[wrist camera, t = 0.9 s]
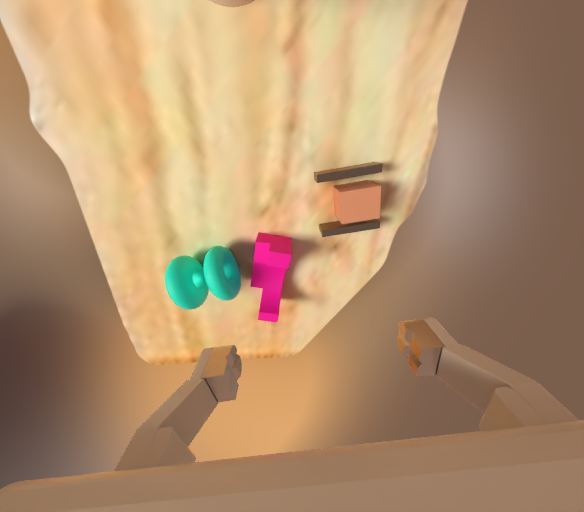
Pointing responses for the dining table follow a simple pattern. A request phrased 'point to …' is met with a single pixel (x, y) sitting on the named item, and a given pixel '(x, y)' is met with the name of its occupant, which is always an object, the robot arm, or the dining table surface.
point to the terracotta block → (357, 201)
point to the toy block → (270, 272)
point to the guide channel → (341, 173)
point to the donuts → (203, 278)
